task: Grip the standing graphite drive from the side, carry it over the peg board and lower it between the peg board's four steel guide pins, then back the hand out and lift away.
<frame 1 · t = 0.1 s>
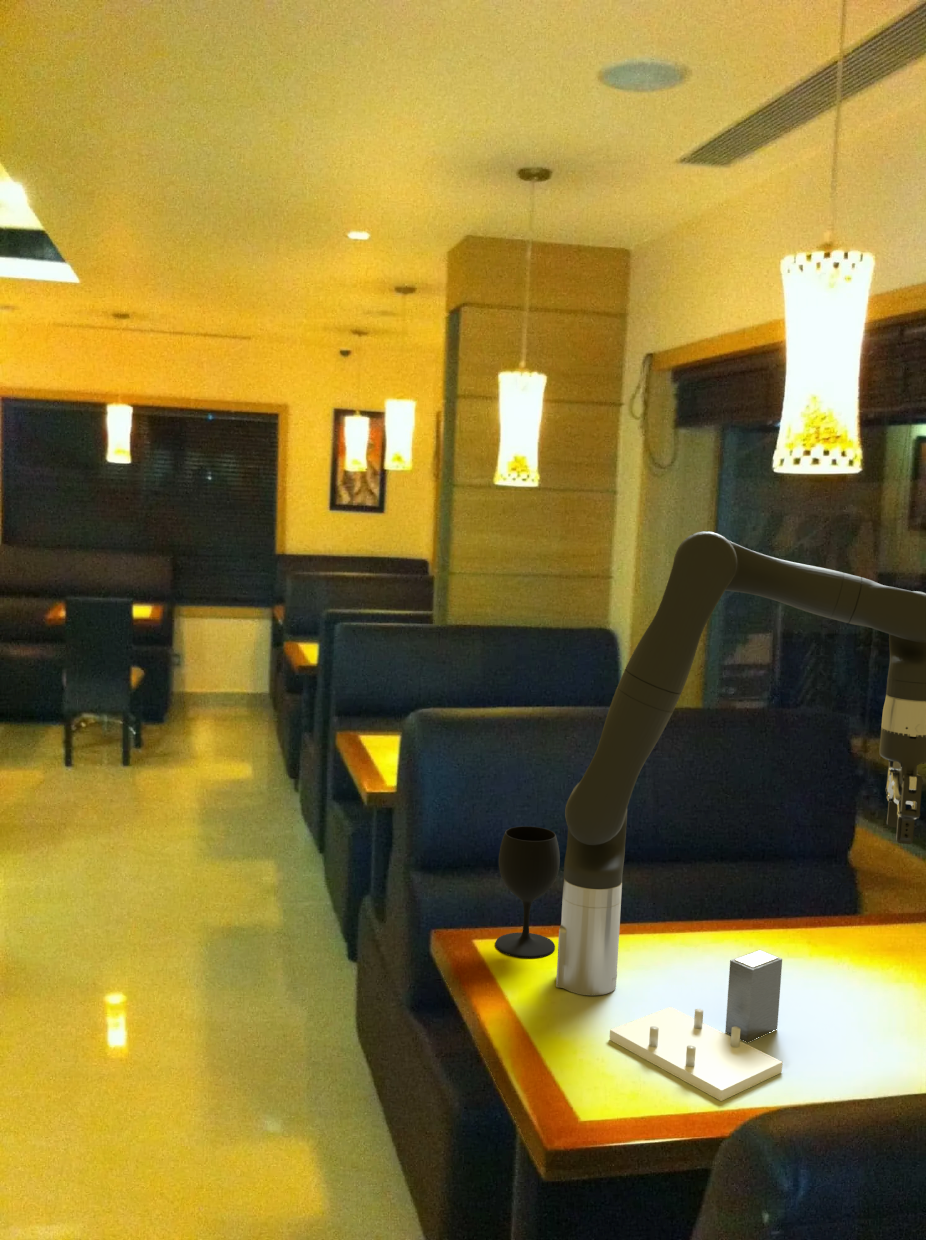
hand: (899, 834, 167), 29 cm above the table, tool pointing down, fingers open, 8 cm apart
wine glass: (525, 947, 193), on the table
drive: (751, 1031, 165), on the table
peg board: (693, 1055, 157), on the table
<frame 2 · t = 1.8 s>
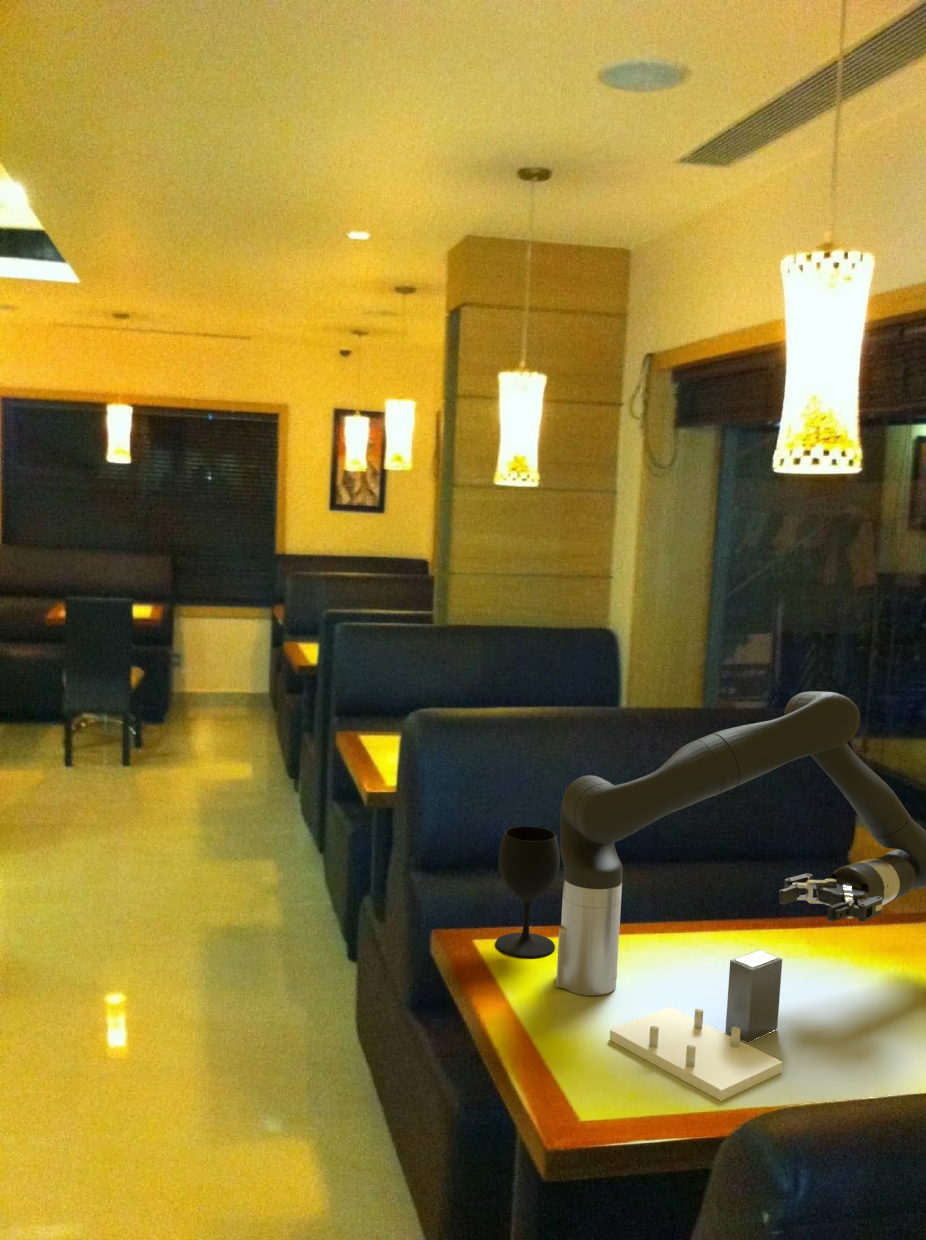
hand: (805, 906, 170), 17 cm above the table, tool horizontal, fingers open, 8 cm apart
nothing on the table moved.
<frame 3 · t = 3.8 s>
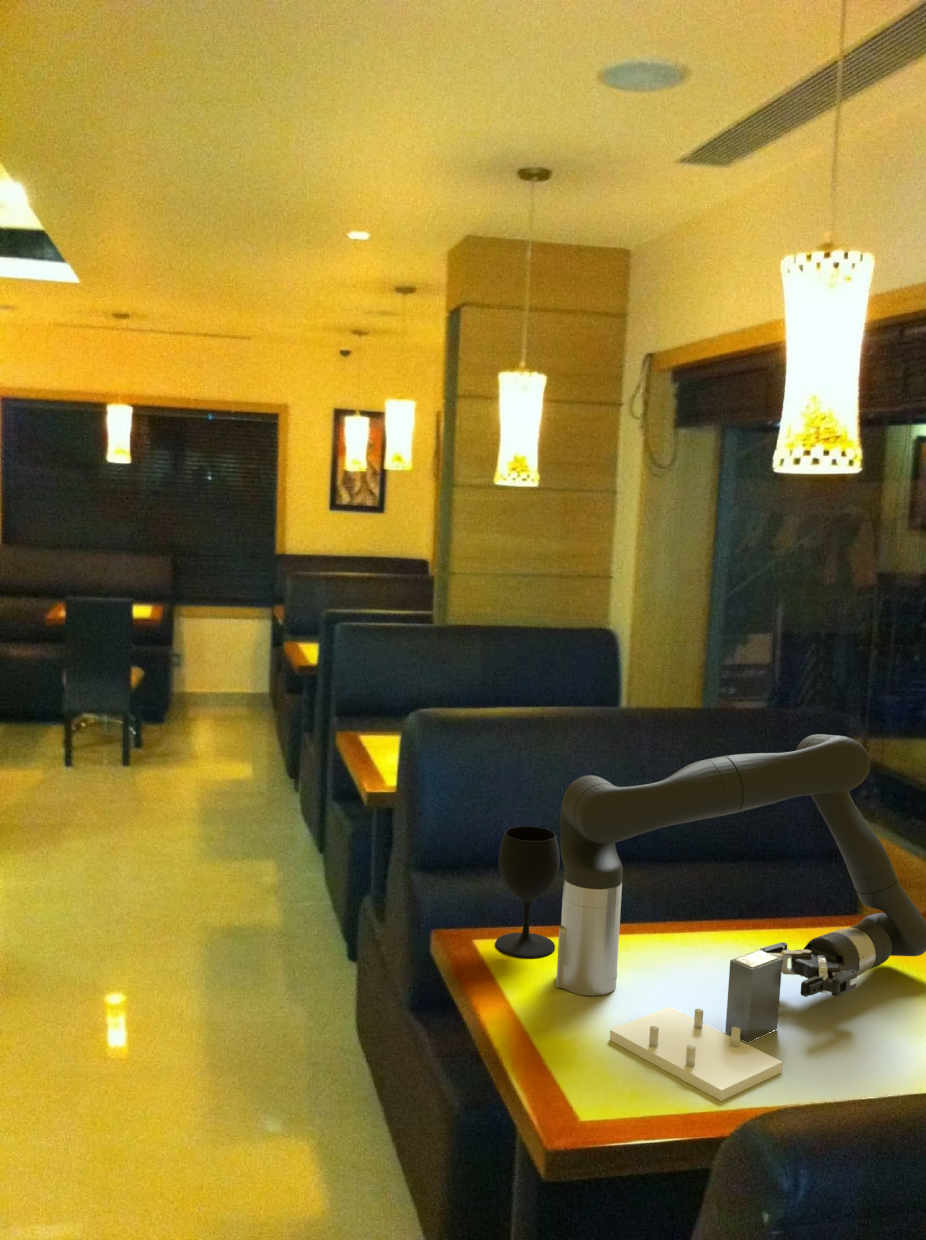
hand: (778, 979, 168), 6 cm above the table, tool horizontal, fingers open, 8 cm apart
nothing on the table moved.
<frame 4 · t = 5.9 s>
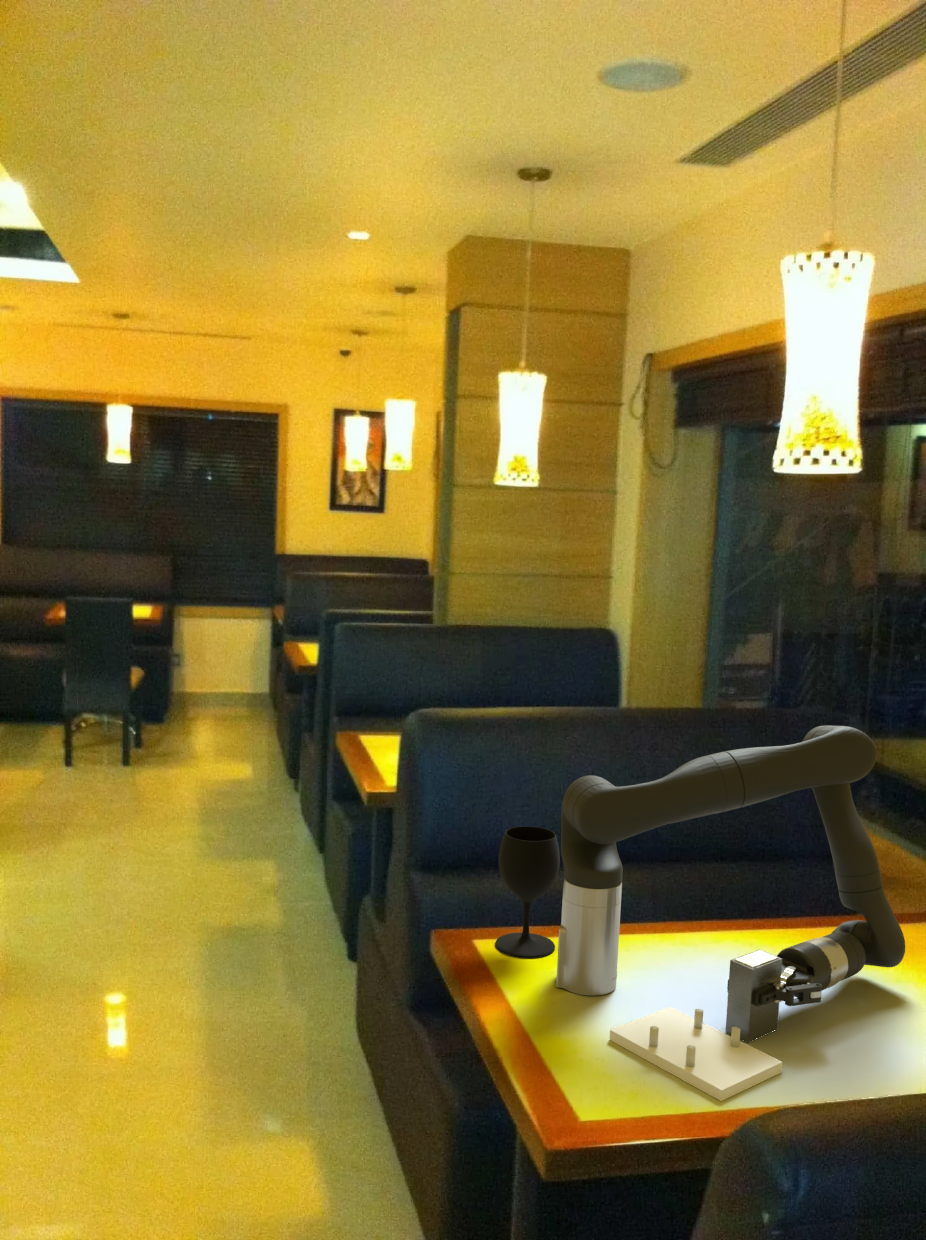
hand: (742, 993, 163), 7 cm above the table, tool horizontal, fingers closed on drive, 4 cm apart
drive: (751, 1031, 165), on the table, touching gripper
everything else where it was.
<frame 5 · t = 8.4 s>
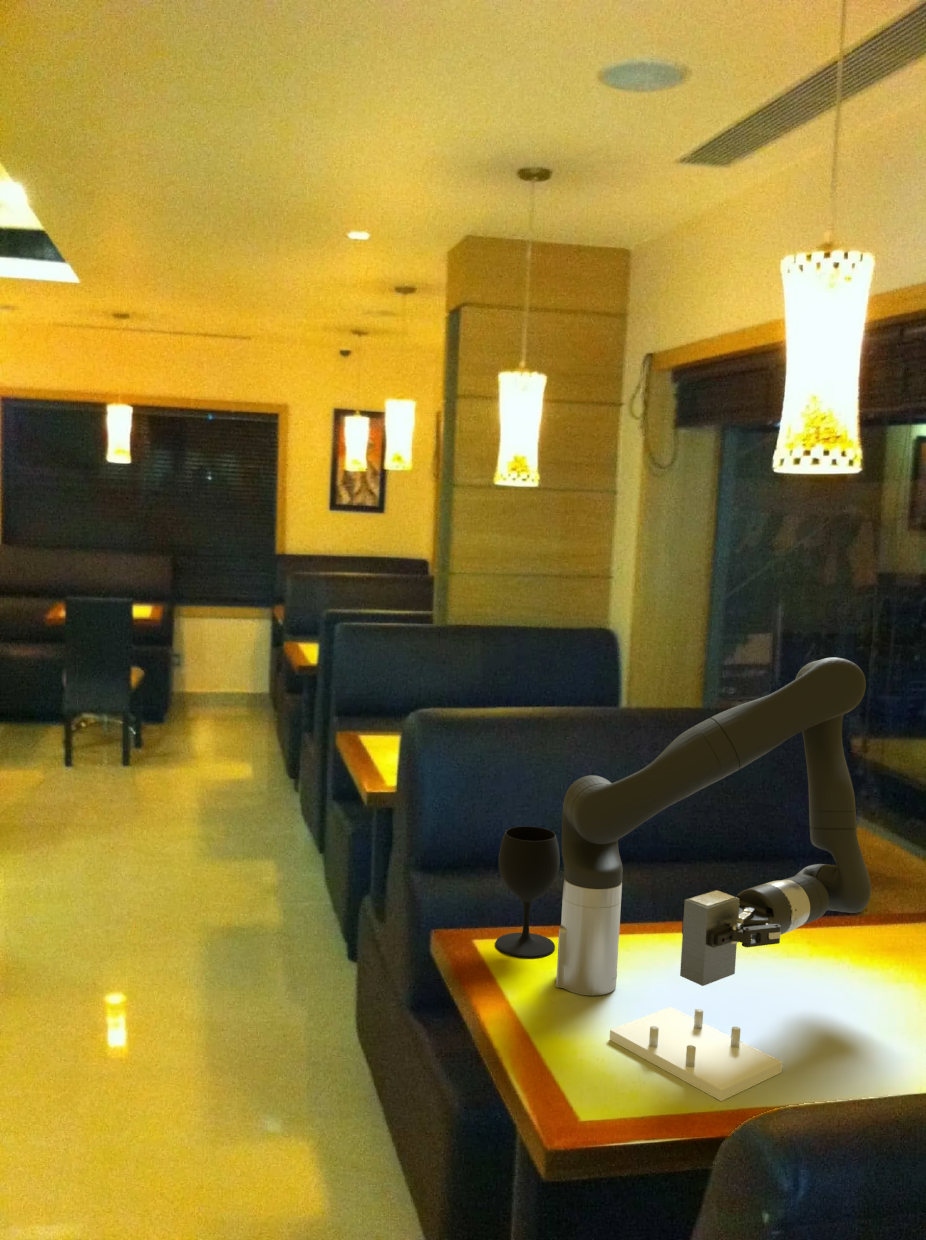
hand: (697, 934, 155), 18 cm above the table, tool horizontal, fingers closed on drive, 4 cm apart
drive: (707, 974, 157), point 11 cm above the table, touching gripper
everything else where it was.
when the fingers open (9 cm above the table, at t = 11.1 s): drive stays where it is, resting on peg board.
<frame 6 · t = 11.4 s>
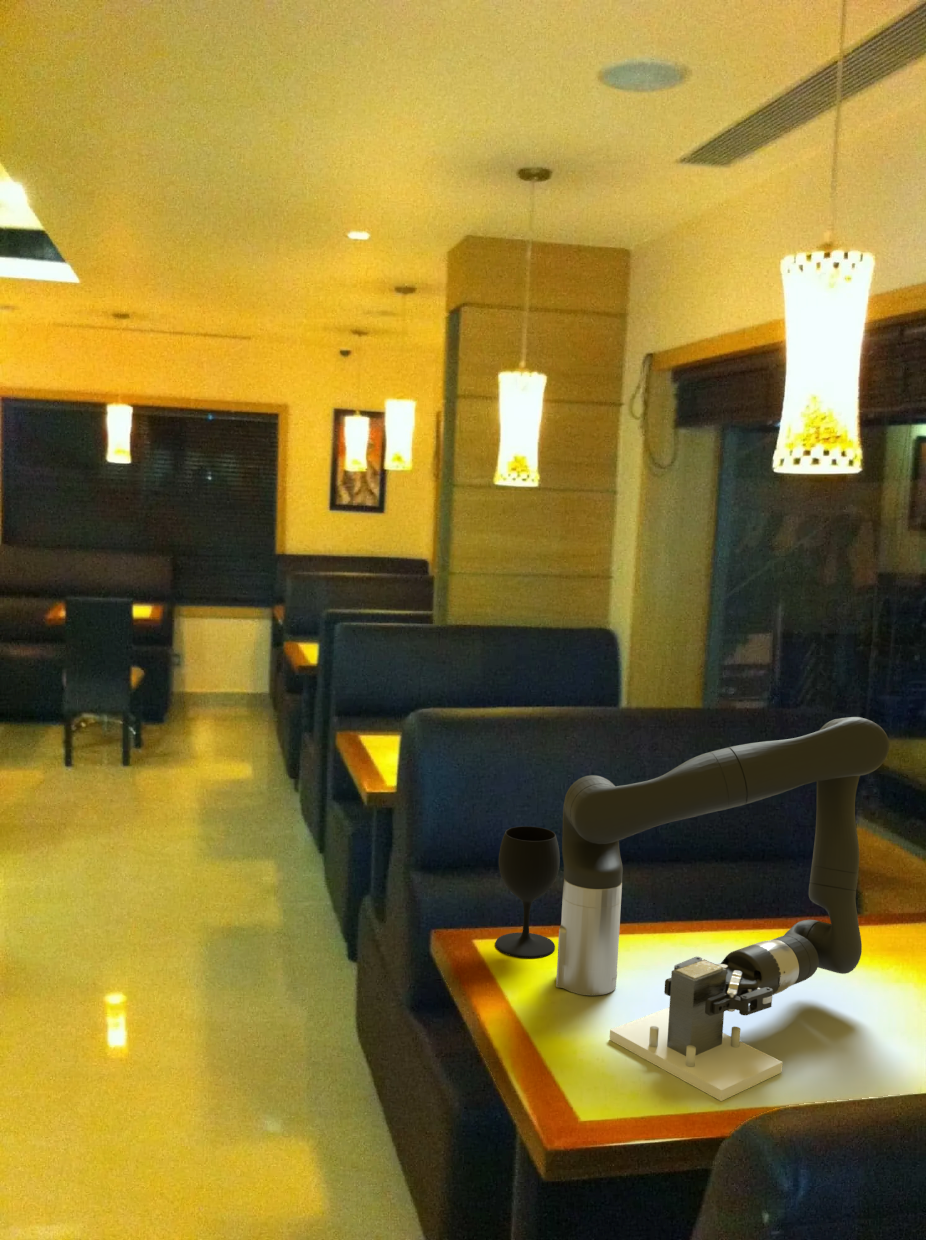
hand: (686, 998, 155), 9 cm above the table, tool horizontal, fingers open, 6 cm apart
drive: (694, 1045, 157), point 1 cm above the table, touching peg board
everything else where it was.
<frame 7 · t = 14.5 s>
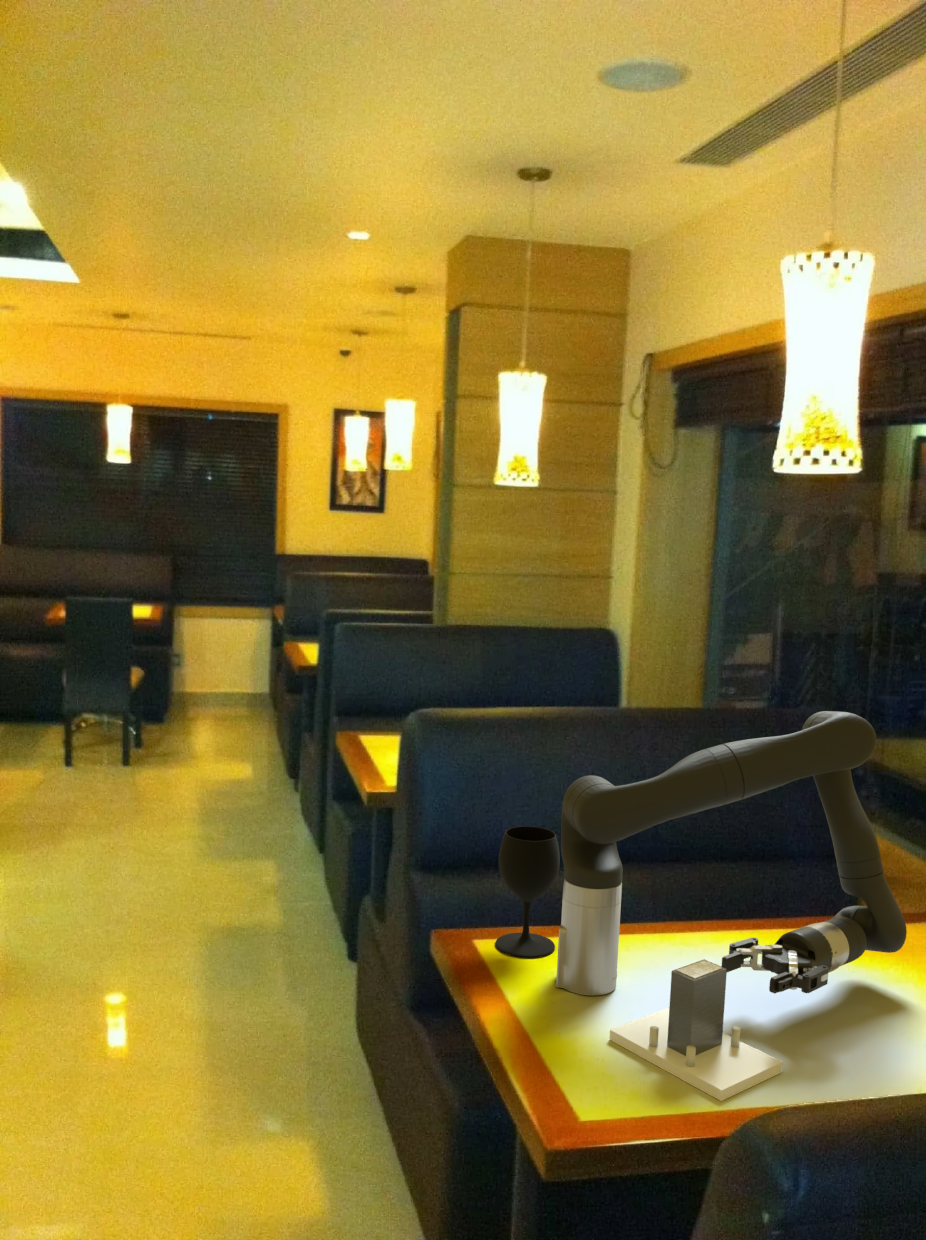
hand: (747, 975, 163), 9 cm above the table, tool horizontal, fingers open, 8 cm apart
nothing on the table moved.
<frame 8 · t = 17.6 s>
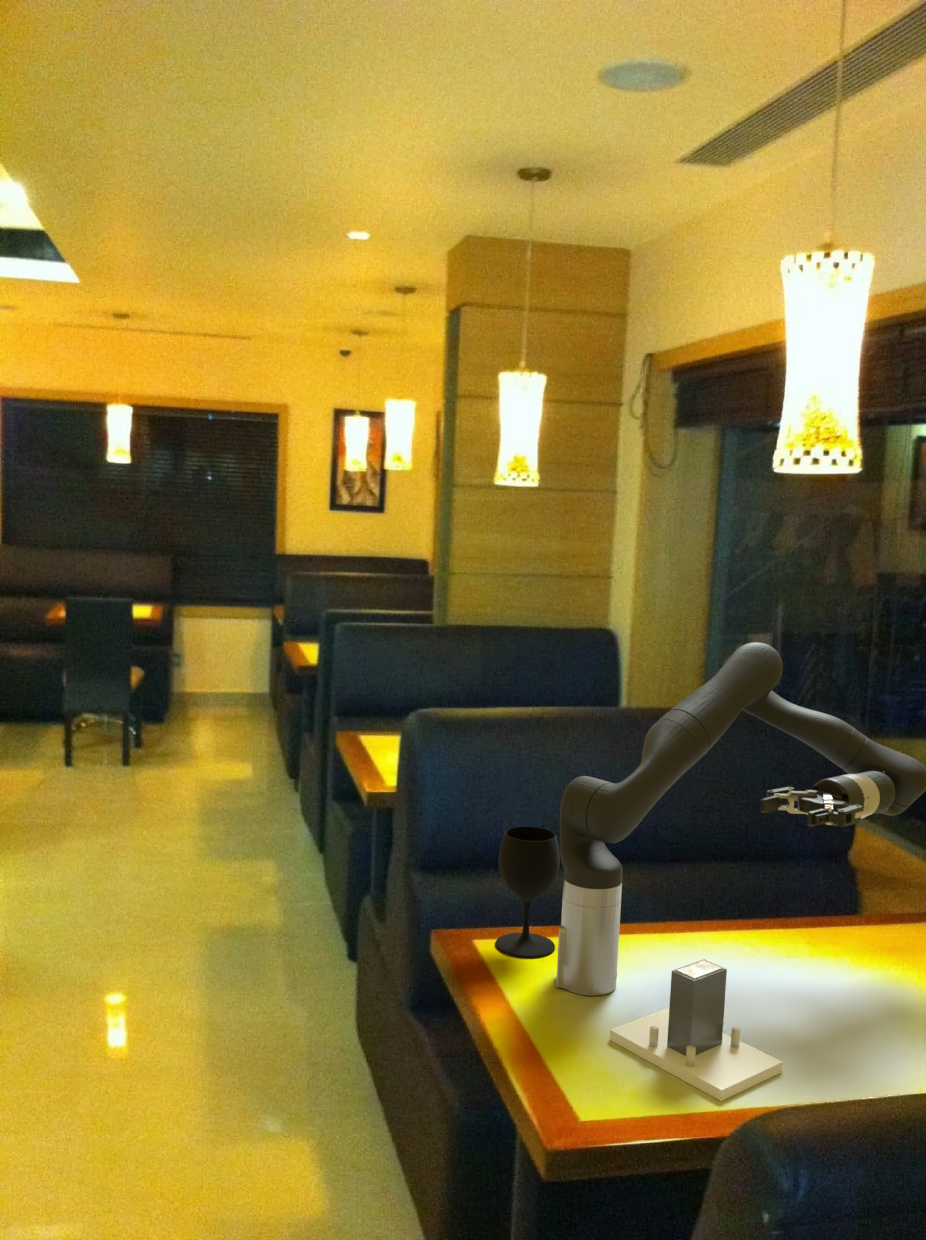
hand: (785, 812, 173), 30 cm above the table, tool horizontal, fingers open, 8 cm apart
nothing on the table moved.
at the end: drive 0.0 cm off-centre on the peg board, point 1.5 cm above the peg board's base; drive tilted 0°; the gripper is holding nothing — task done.
